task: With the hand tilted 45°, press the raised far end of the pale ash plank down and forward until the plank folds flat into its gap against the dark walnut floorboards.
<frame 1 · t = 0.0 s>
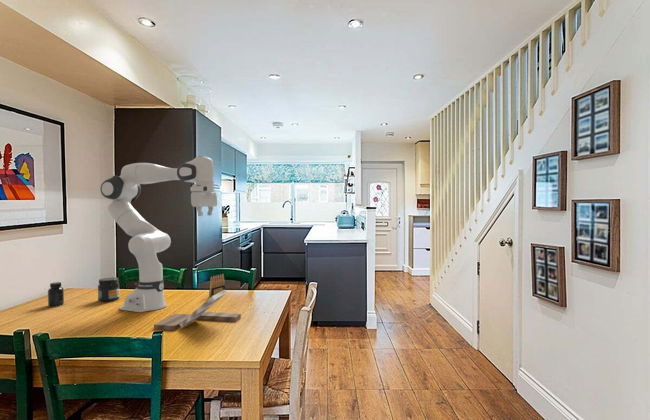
hand: (205, 215, 185), 48 cm above the table, tool pointing down, fingers open, 8 cm apart
walnut boards: (186, 324, 164), on the table
supplement container: (108, 300, 206), on the table
ash plank: (203, 308, 162), point 8 cm above the table, hinge at 40.0°
supplement bottle: (56, 305, 196), on the table
ammunition clip: (217, 295, 217), on the table
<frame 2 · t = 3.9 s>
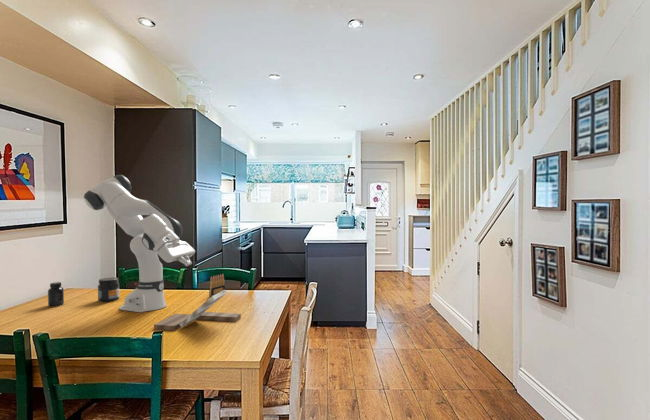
hand: (189, 264, 163), 27 cm above the table, tool tilted 45°, fingers closed
nothing on the table moved.
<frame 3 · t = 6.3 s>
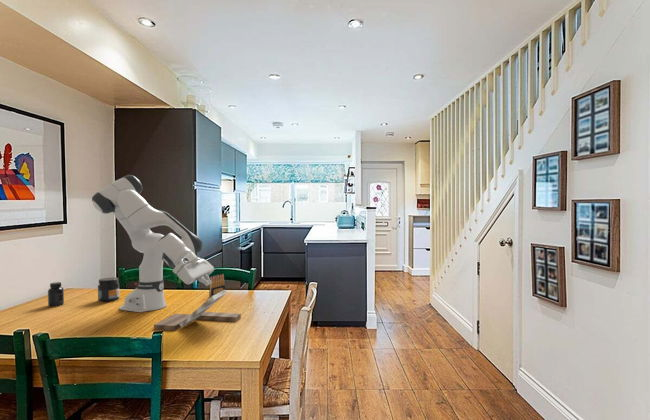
hand: (209, 284, 161), 19 cm above the table, tool tilted 45°, fingers closed
nothing on the table moved.
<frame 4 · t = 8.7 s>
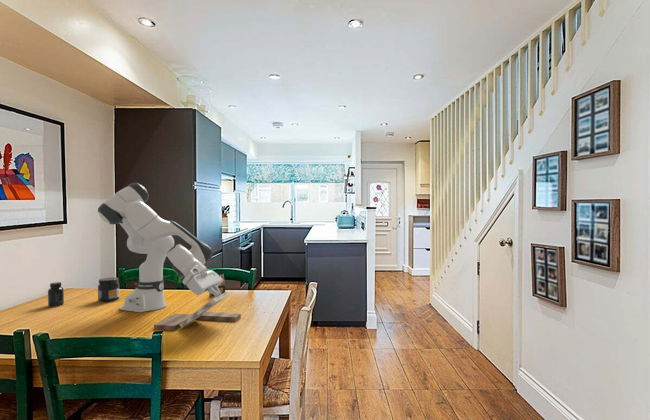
hand: (218, 294, 160), 14 cm above the table, tool tilted 50°, fingers closed, pressing on ash plank
ash plank: (204, 309, 162), point 7 cm above the table, hinge at 36.7°, touching gripper
everything else where it was.
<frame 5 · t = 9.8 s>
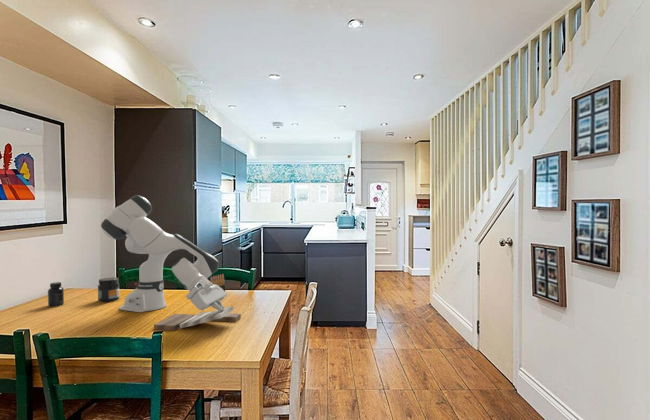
hand: (222, 310, 159), 8 cm above the table, tool tilted 45°, fingers closed, pressing on ash plank
ash plank: (207, 316, 162), point 4 cm above the table, hinge at 16.4°, touching gripper
everything else where it was.
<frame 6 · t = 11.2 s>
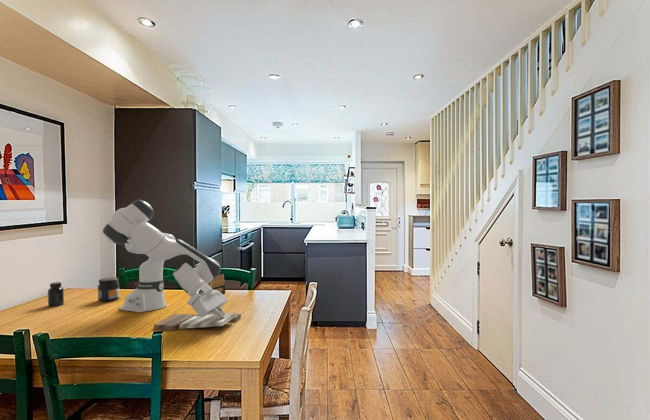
hand: (223, 316, 160), 5 cm above the table, tool tilted 45°, fingers closed
ash plank: (207, 320, 162), point 2 cm above the table, hinge at 6.8°
everything else where it was.
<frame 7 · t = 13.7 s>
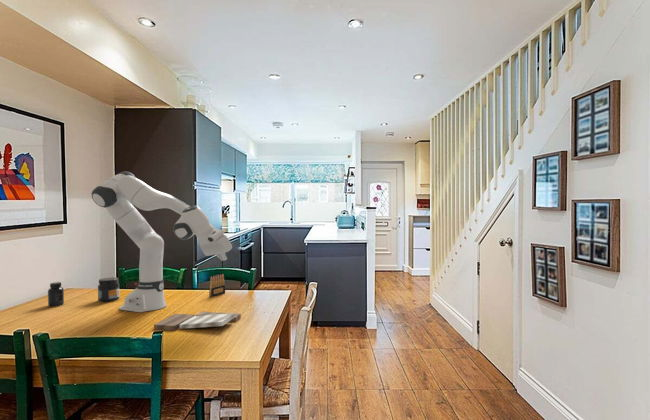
hand: (224, 259, 176), 27 cm above the table, tool tilted 35°, fingers closed
nothing on the table moved.
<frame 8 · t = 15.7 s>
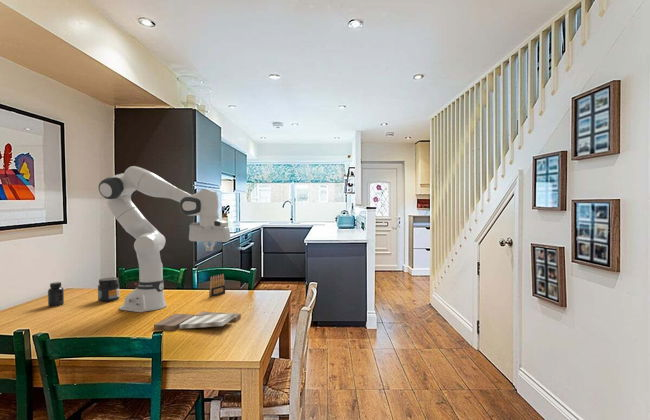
hand: (209, 250, 179), 31 cm above the table, tool pointing down, fingers closed
nothing on the table moved.
at the end: ash plank at +7° (first picture: +40°) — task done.
